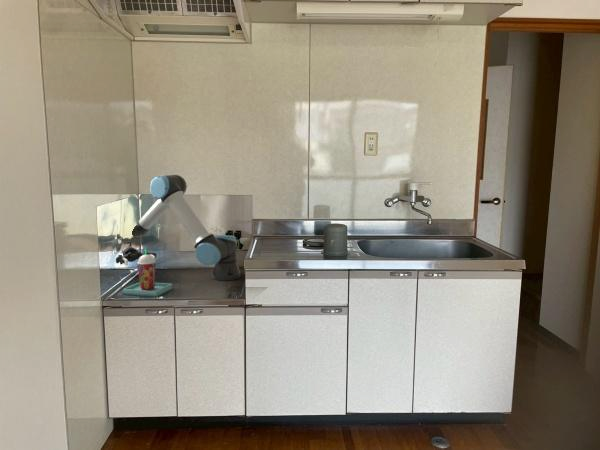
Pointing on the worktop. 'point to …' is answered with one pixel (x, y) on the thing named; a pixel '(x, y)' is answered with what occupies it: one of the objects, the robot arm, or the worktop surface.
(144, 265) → the smoothie
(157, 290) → the tray
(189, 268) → the worktop surface
